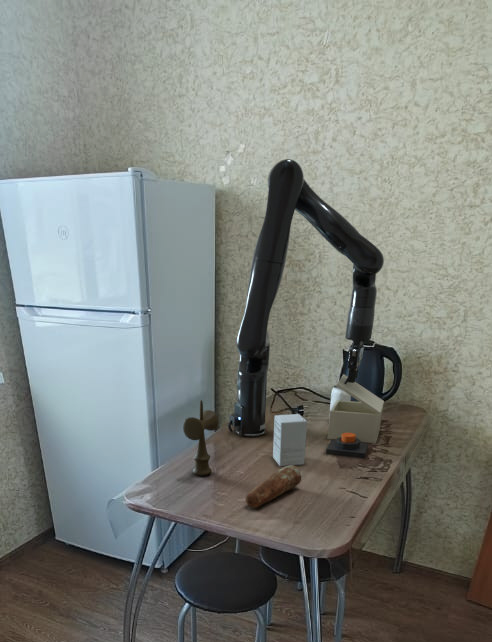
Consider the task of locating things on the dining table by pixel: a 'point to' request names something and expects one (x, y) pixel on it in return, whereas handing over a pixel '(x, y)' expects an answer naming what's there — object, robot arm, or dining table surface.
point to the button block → (347, 448)
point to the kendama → (201, 437)
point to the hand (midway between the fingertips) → (352, 380)
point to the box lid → (361, 394)
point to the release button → (348, 437)
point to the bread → (274, 486)
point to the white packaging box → (289, 439)
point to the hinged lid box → (354, 421)
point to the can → (338, 396)
